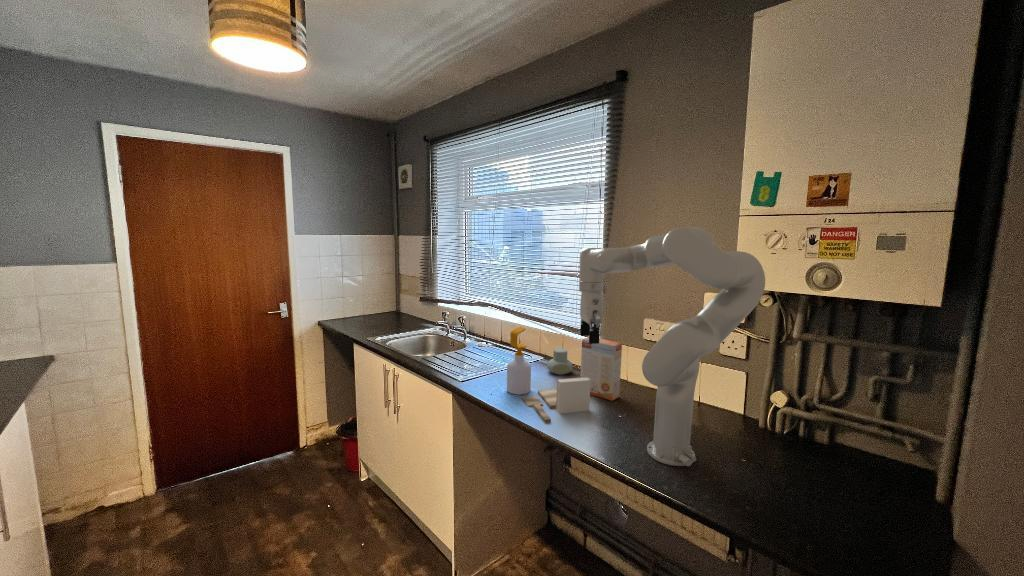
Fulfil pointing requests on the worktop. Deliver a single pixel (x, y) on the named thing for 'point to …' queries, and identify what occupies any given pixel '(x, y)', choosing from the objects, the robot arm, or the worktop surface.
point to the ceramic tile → (573, 395)
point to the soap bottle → (518, 368)
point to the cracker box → (602, 367)
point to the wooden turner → (537, 407)
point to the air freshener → (560, 362)
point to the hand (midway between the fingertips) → (589, 339)
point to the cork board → (549, 397)
